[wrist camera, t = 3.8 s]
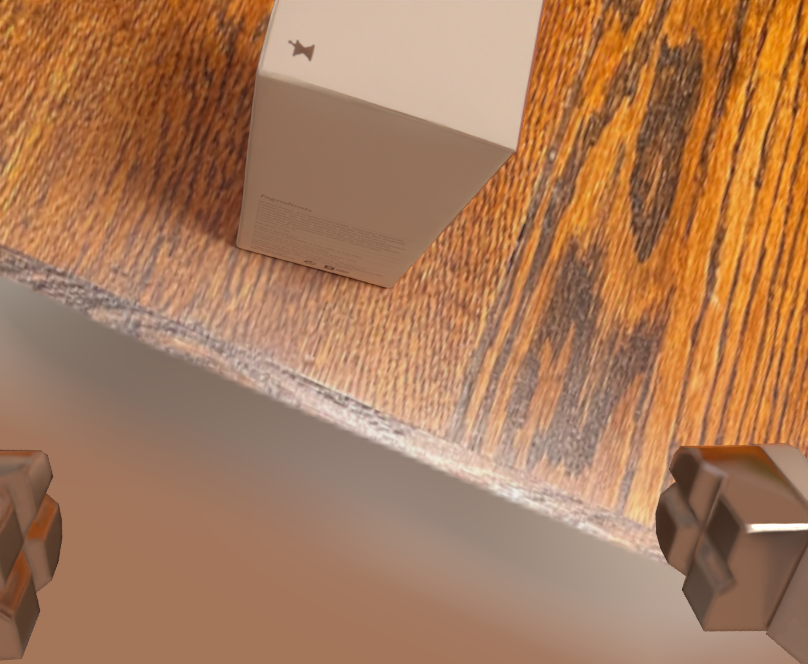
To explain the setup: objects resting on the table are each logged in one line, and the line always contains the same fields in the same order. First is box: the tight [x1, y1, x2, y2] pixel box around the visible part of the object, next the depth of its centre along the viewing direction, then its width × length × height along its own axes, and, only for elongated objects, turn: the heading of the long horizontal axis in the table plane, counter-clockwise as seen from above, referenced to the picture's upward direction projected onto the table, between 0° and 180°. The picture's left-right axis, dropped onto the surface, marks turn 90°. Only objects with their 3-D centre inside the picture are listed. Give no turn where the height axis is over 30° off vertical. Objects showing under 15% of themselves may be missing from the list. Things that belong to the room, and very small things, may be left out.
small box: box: [236, 0, 545, 288], centre depth 24 cm, size 8×6×13 cm
